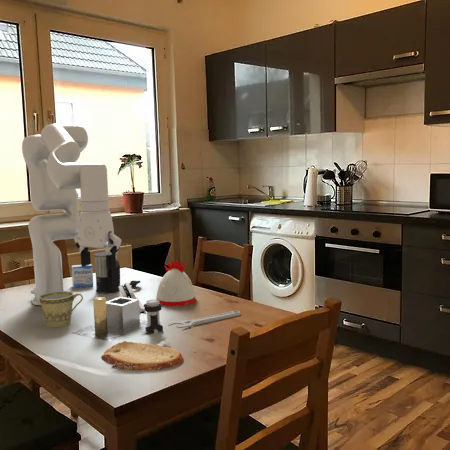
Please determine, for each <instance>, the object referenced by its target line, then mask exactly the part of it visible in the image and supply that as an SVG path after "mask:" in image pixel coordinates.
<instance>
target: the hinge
mask: <svg viewBox="0 0 450 450" xmlns="http://www.w3.org/2000/svg"><path fill="white" fill-rule="evenodd" d="M129 283H130V282H124V283H123V284H120V286H119V292H120V294H121V297H125V298H132V299H138V300H139V312H140V313H144V315H147V312H146V311H145V309H144V305H143V304H142V302H141V301H140V299H139V298H138V297H137V296H136V294H135V293H134V291H133V289H132V288H133V287H132V286H131V285H130V284H129ZM124 286H125V287H124Z"/></svg>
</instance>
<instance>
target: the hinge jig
mask: <svg viewBox="0 0 450 450" xmlns="http://www.w3.org/2000/svg"><path fill="white" fill-rule="evenodd" d="M138 299H139V298H138ZM138 299H132V298H125V297H122V296H118V297H115V298H112V299H109V300H106V308H107V327H108V332H107V333H105V334H95V323H93V324H91V325H88V326H85V327H82V328H80V329H78V330H75V331H73V332H71V334H74V335H79V336H82V337H88V338H91V339H92V338H94V339H97V340H103V341H106V342H112V341H114V340H117V339H119V338H120V337H121V338H122V337H123V336H125V335H127V334H128V335H129V334H130V333H132V332H135V331H136V330H139V329H141V328H143V327H146V326H147V320H145V319H141V318H140V317H141V316H140V313H141V312H139V301H140V299H139V300H138Z"/></svg>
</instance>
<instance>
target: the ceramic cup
mask: <svg viewBox="0 0 450 450" xmlns="http://www.w3.org/2000/svg"><path fill="white" fill-rule="evenodd" d="M78 296H80V297H81V299H80V301H78V302H77V303H76V304H75V305H74V307H73V302H74V300H75V298H76V297H78ZM39 298H40V303H41V309H42V314H43V317H44V321H45V325H46V326H47V327H50V328H60V327H65V326H67V325H69V324H71V319H72V313H73V312H74V310H75V309H76V308H77V306H79V305H80V304H81V303H82V301H83V300H84V296H83V295H82V294H81V293H75V294H74V292H73V291H68V290H64V291H54V292H48V293H45V294H42V295H40V297H39Z"/></svg>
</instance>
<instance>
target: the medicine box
mask: <svg viewBox="0 0 450 450" xmlns="http://www.w3.org/2000/svg"><path fill="white" fill-rule="evenodd" d="M71 279H72V281H71V282H72V287H73V288H74V289H77V288H80V287H81V288H87V287H94V271H93V264H92V263H91V264H90V265H87V266H81V264H73V265H71Z"/></svg>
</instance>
